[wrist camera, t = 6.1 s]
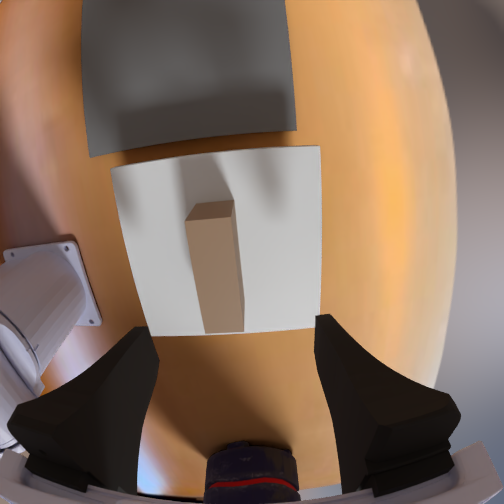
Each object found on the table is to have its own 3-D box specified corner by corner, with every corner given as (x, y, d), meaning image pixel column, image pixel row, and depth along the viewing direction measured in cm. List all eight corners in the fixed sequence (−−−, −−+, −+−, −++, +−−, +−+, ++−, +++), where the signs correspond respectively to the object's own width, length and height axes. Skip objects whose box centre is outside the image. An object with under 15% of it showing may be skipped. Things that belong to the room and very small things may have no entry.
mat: (93, 156, 19) (89, 157, 18) (87, -10, 13) (83, -13, 12) (295, 130, 18) (296, 130, 18) (276, -47, 13) (277, -50, 12)
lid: (154, 328, 20) (139, 366, 16) (116, 166, 15) (83, 179, 12) (316, 319, 19) (328, 358, 16) (316, 145, 15) (336, 151, 12)
